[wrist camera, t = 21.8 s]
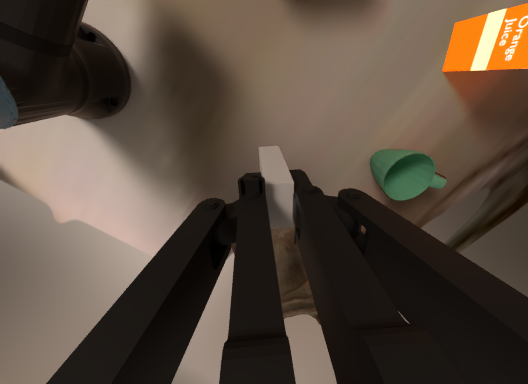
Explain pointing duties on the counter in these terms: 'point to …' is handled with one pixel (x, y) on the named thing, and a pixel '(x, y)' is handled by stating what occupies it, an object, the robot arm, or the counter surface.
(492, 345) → the robot arm
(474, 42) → the orange juice
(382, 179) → the mug
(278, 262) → the jug
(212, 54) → the counter surface
